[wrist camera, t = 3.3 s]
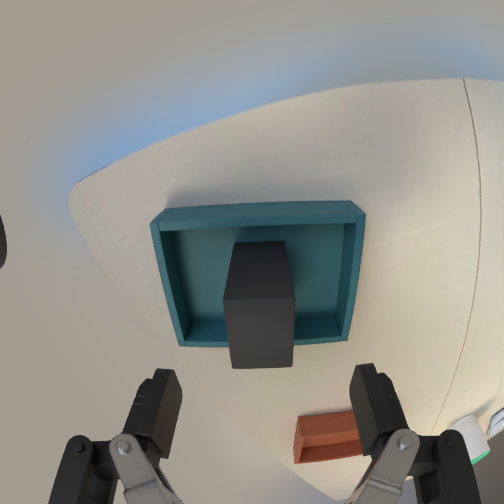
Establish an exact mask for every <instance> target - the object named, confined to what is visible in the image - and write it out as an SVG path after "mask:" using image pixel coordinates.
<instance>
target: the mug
mask: <svg viewBox="0 0 504 504" xmlns="http://www.w3.org/2000/svg"><path fill="white" fill-rule="evenodd" d="M448 429H454V430H457V431H459V432H460V433H461V434H462V436H463V438H464V441H465V444H466V447H467V450H468V453H469V456H470V460H471V463H472V464H474V463H476V462H477V461H479V460H480V459H481V458H482V457H484V456H485V455H486V454H488V453H489V452H490V448H489V446H488V444H487V441H486V439H485V437H484V434H483V432H482V430H481V428H480V426H479V424H478V421H477V419H476V417H475V415H474V414H470V415H468V416H466V417H464V418H462V419H460V420H459V421H457V422H456V423H454V424H453V425H452V426H450V427H449V428H448ZM448 429H447V430H448Z"/></svg>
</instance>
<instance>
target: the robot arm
mask: <svg viewBox="0 0 504 504" xmlns="http://www.w3.org/2000/svg"><path fill="white" fill-rule="evenodd" d="M349 394H350V400H351V404H352V408H353V412H354V416H355V421H356V425H357V429H358V434H359V438H360V443H361V448H362V452H363V456H367V455H371V458H372V462H371V463H370V465H369V467H368V468H367V470H366V472H365V473H364V475H363V477H362V478H361V480H360V482H359V483H358V485H357V486H356V488H355V489H354V491H353V492H352V494H351V495H350V497H349V498H348V499H347V500H346V502H345V503H344V504H397V502H398V500H399V498H400V496H401V493H402V485H403V483H404V481H405V479H406V476H413V478H414V484H415V489H416V496H417V502H418V504H481V500H480V495H479V490H478V486H477V482H476V478H475V474H474V470H473V467H472V463H471V460H470V456H469V453H468V450H467V447H466V444H465V441H464V438H463V436H462V434H461V433H460V432H459V431H457V430H454V429H448V430H445V431H444V432H442V433H441V434H440V435H439V436H421V435H418V434H416V433H415V432H414V431H412V430H410V428H409V427H408V425H407V422H406V419H405V416H404V413H403V410H402V408H401V405H400V402H399V399H398V397H397V394H396V392H395V389H394V386H393V384H392V381H391V380H390V379H389V377H388V376H387V375H386V374H385V373H379V374H377V371H376V368H375V366H374V364H373V363H368V364H361V365H356V367H355V370H354V373H353V376H352V380H351V383H350V388H349ZM181 402H182V389H181V387H180V384H179V382H178V379H177V376H176V374H175V371H174V370H171V369H160V368H158V369H156V371H155V373H154V376H153V379H148V378H147V379H146V380H145V381H144V382H143V383H142V384H141V385H140V386H139V389H138V391H137V394H136V397H135V399H134V402H133V405H132V407H131V410H130V413H129V415H128V418H127V421H126V423H125V426H124V429H123V431H122V433H121V434H119V435H117V436H115V437H114V438H113V439H112V440H110V441H90V440H89V439H88V438H87V437H85V436H82V435H77V436H74V437H72V438H71V439H70V440H69V441H68V443H67V445H66V448H65V451H64V454H63V457H62V460H61V463H60V466H59V469H58V472H57V475H56V478H55V482H54V485H53V489H52V492H51V495H50V499H49V503H48V504H113V500H114V495H115V491H116V486H117V482H118V479H121V481H122V483H123V485H124V488H125V491H124V492H123V493H124V497H125V499H126V501H127V503H128V504H184V503H183V502H182V500H180V498H179V497H178V496H177V494H176V493H175V491H174V490H173V488H172V486H171V485H170V483H169V481H168V480H167V478H166V476H165V475H164V473H163V472H162V469H161V468H160V466H159V461H160V458H165V459H168V457H169V453H170V448H171V444H172V440H173V435H174V431H175V427H176V423H177V419H178V415H179V410H180V406H181Z"/></svg>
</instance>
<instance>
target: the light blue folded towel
mask: <svg viewBox="0 0 504 504" xmlns="http://www.w3.org/2000/svg"><path fill="white" fill-rule="evenodd" d="M503 427H504V409H502V410H501V411H500V412H499V413H497V414H496V415H495V416H493V417H492V418H491V424H490V427H489V429H488V432H487V436H490V437H491V436H492V435H494V434H495V433H496V432H498V431H499V430H500V429H502V428H503Z"/></svg>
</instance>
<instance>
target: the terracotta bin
mask: <svg viewBox="0 0 504 504" xmlns="http://www.w3.org/2000/svg"><path fill="white" fill-rule="evenodd" d="M293 450H294V464H298V463H299V464H300V463H310V462H319V461H327V460H334V459H340V458H346V457H352V456H357V455H362V454H363V452H362V448H361V443H360V438H359V434H358V429H357V425H356V421H355V416H354V412H353V411H347V412H340V413H332V414H324V415H315V416H305V417H298V421H297V428H296V434H295V441H294V447H293Z"/></svg>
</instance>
